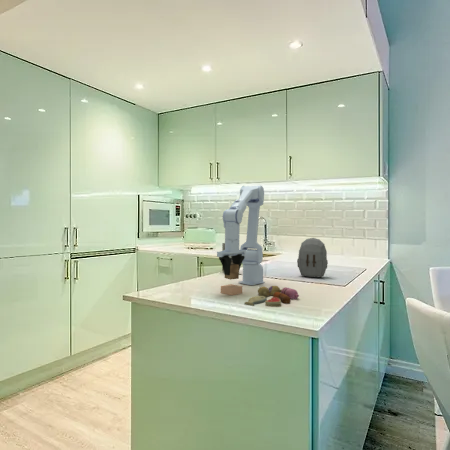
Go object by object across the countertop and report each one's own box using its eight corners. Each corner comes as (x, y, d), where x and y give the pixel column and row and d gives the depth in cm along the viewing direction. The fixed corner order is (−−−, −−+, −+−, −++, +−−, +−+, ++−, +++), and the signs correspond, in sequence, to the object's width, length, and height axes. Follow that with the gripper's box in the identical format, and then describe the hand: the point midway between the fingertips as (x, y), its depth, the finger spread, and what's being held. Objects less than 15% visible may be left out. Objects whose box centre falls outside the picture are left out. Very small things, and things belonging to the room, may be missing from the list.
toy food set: (262, 291, 144) (262, 282, 144) (303, 295, 138) (303, 285, 138) (243, 306, 120) (243, 294, 120) (290, 311, 114) (291, 299, 114)
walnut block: (232, 277, 141) (233, 263, 141) (238, 278, 138) (238, 264, 138) (224, 277, 139) (224, 264, 139) (230, 279, 136) (230, 265, 136)
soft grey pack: (328, 277, 179) (329, 238, 178) (325, 279, 171) (326, 238, 171) (298, 274, 185) (299, 236, 185) (295, 277, 177) (295, 237, 177)
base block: (231, 291, 143) (231, 284, 143) (242, 293, 139) (242, 286, 139) (220, 293, 139) (220, 286, 139) (231, 296, 135) (231, 288, 135)
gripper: (237, 238, 146) (236, 271, 147) (211, 239, 136) (211, 274, 136) (250, 239, 141) (249, 273, 142) (224, 240, 131) (224, 277, 131)
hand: (231, 274), depth 139 cm, fingers closed on walnut block, 5 cm apart
